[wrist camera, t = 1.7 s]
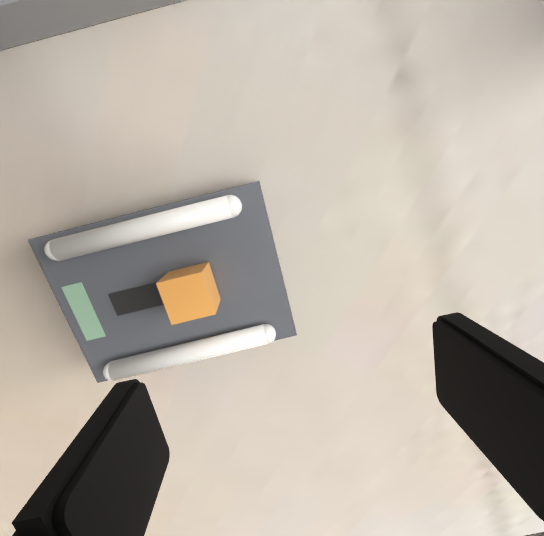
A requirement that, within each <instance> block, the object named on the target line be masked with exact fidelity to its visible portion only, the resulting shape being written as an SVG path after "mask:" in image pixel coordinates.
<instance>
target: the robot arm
mask: <svg viewBox="0 0 544 536" xmlns="http://www.w3.org/2000/svg"><path fill="white" fill-rule="evenodd" d="M433 344H434V360H435V376H436V392H437V397H438V399H439V402H440V403H441V405H442V406H443V407H444V408H445V410H446V411H447V412H448V413H449V414H450V415H451V417H452V418H453V419H454V420H455V421H456V422H457V424H458V425H459V426H460V427H461V428H462V429H463V430H464V432H465V433H466V434H467V435H468V436H469V437H470V439H471V440H472V441H473V442H474V443H475V444H476V445H477V447H478V448H479V449H480V450H481V451H482V452H483V454H484V455H485V456H486V457H487V458H488V459H489V460H490V462H491V463H492V464H493V465H494V466H495V467H496V469H497V470H498V471H499V472H500V473H501V474H502V475H503V477H504V478H505V479H506V480H507V481H508V482H509V484H510V485H511V486H512V487H513V488H514V489H515V490H516V492H517V493H518V494H519V495H520V496H521V497H522V499H523V500H524V501H525V502H526V503H527V504H528V505H529V507H530V508H531V509H532V510H533V511H534V512H535V514H536V515H537V516H538V517H539V518H540V519H542V520H543V521H544V363H543V362H542V361H540V360H538V359H537V358H535V357H533V356H531V355H530V354H528V353H526V352H525V351H523V350H521V349H520V348H518V347H516V346H515V345H513V344H511V343H510V342H508V341H506V340H505V339H503V338H501V337H499V336H498V335H496V334H494V333H493V332H491V331H489V330H488V329H486V328H484V327H483V326H481V325H479V324H478V323H476V322H474V321H473V320H471V319H469V318H467V317H466V316H464V315H462V314H461V313H452V314H448V315H443V316H439V317H438V318H437V322H434V323H433ZM168 462H169V447H168V445H167V442H166V439H165V437H164V434H163V431H162V429H161V426H160V423H159V420H158V418H157V415H156V412H155V410H154V407H153V404H152V402H151V399H150V396H149V394H148V391H147V388H146V386H145V384H144V383H140V382H139V381H138V380H137V379H133V380H128V381H124V382H119V383H116V384H115V385H114V387H113V388H112V389H111V391H110V392H109V393H108V395H107V396H106V397H105V399H104V400H103V401H102V403H101V404H100V405H99V407H98V408H97V409H96V411H95V412H94V413H93V415H92V416H91V417H90V419H89V420H88V421H87V423H86V424H85V425H84V427H83V428H82V429H81V431H80V432H79V433H78V435H77V436H76V437H75V439H74V440H73V441H72V443H71V444H70V445H69V447H68V448H67V449H66V451H65V452H64V453H63V455H62V456H61V457H60V459H59V460H58V461H57V463H56V464H55V466H54V467H53V468H52V470H51V471H50V472H49V474H48V475H47V476H46V478H45V479H44V480H43V482H42V483H41V484H40V486H39V487H38V488H37V490H36V491H35V492H34V494H33V495H32V496H31V498H30V499H29V500H28V502H27V503H26V504H25V506H24V507H23V508H22V510H21V511H20V512H19V514H18V515H17V516H16V518H15V519H14V520H13V522H12V524H13V526H14V528H15V529H16V531H15V533H14V534H13V535H12V536H144V534H145V531H146V528H147V525H148V522H149V519H150V516H151V513H152V510H153V507H154V504H155V501H156V498H157V495H158V492H159V489H160V486H161V483H162V480H163V477H164V474H165V471H166V468H167V465H168ZM526 536H544V532H541V533H536V534H531V535H526Z"/></svg>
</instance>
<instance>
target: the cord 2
mask: <svg viewBox="0 0 544 536" xmlns="http://www.w3.org/2000/svg"><path fill="white" fill-rule="evenodd" d="M275 337H276V331H275V329H274V327H273V326H271V325H269V324H263V325H259V326H254V327H250V328H246V329H242V330H238V331H234V332H229V333H225V334H221V335H217V336H213V337H209V338H205V339H200V340H196V341H192V342H188V343H184V344H180V345H175V346H171V347H167V348H163V349H159V350H155V351H151V352H146V353H142V354H138V355H134V356H130V357H126V358H121V359H117V360H113V361H110V362H109V363H107V364H106V366H105V367H104V369H103V375H104V377H105V378H106V379H107V380H110V381H116V380H120V379H124V378H128V377H132V376H136V375H141V374H145V373H149V372H153V371H157V370H162V369H166V368H170V367H174V366H178V365H182V364H187V363H191V362H195V361H199V360H203V359H208V358H212V357H216V356H220V355H224V354H229V353H233V352H237V351H241V350H245V349H249V348H254V347H258V346H262V345H266V344H270V343H271V342H273V341H274V339H275Z"/></svg>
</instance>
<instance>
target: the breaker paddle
mask: <svg viewBox="0 0 544 536" xmlns="http://www.w3.org/2000/svg"><path fill="white" fill-rule="evenodd" d="M156 285H157V288H158V290H159V293H160V296H161V298H162V301H163V304H164V306H165V309H166V312H167V314H168V317H169V319H170V322H171V325H174V324H178V323H182V322H186V321H190V320H195V319H199V318H203V317H207V316H211V315H215V314H216V312H217V309H218V306H219V303H220V300H221V299H220V295H219V292H218V289H217V286H216V283H215V280H214V276H213V273H212V270H211V267H210V264H209V262H205V263H201V264H197V265H193V266H189V267H185V268H181V269H177V270H173V271H169V272H168V273H166V274H165V275H164V276H163V277H162V278H161V279H160V280H159V281H158V282H157V283H156Z"/></svg>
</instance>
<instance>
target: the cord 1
mask: <svg viewBox="0 0 544 536" xmlns="http://www.w3.org/2000/svg"><path fill="white" fill-rule="evenodd" d="M241 210H242V204H241V201H240V199H239V198H238V197H236V196H234V195H226V196H222V197H218V198H214V199H210V200H206V201H202V202H198V203H194V204H190V205H186V206H182V207H178V208H174V209H170V210H167V211H163V212H159V213H155V214H151V215H147V216H143V217H139V218H135V219H131V220H127V221H123V222H119V223H115V224H111V225H107V226H103V227H99V228H95V229H91V230H87V231H84V232H80V233H76V234H72V235H68V236H64V237H60V238H56V239H52V240H50V241H49V242H47V243H46V245H45V247H44V251H45V254H46V255H47V256H48V257H49V258H50V259H52V260H55V261H62V260H66V259H70V258H74V257H78V256H82V255H86V254H90V253H94V252H98V251H102V250H106V249H110V248H114V247H118V246H122V245H126V244H130V243H134V242H138V241H142V240H146V239H150V238H154V237H158V236H162V235H166V234H170V233H174V232H178V231H182V230H186V229H190V228H194V227H198V226H202V225H206V224H210V223H214V222H218V221H222V220H226V219H230V218H234V217H236V216H238V215H239V214H240V212H241Z"/></svg>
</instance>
